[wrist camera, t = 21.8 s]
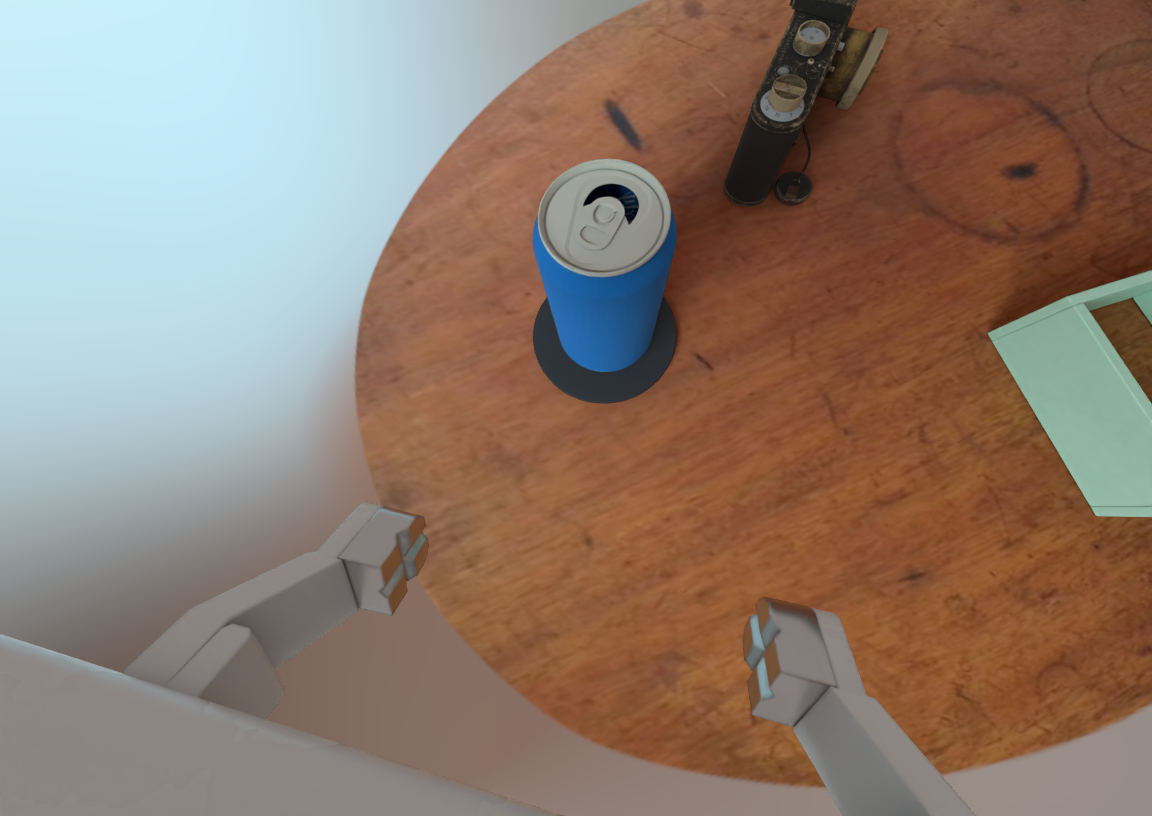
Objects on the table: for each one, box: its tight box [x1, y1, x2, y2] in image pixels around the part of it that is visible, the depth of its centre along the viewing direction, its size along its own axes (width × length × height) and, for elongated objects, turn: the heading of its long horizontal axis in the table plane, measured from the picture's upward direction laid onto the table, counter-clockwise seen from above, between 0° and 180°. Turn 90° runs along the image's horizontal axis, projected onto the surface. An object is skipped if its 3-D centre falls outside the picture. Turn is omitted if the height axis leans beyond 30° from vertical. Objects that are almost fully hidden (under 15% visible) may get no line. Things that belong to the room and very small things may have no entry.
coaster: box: [533, 297, 676, 403], centre depth 29 cm, size 10×10×1 cm
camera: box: [723, 0, 889, 206], centre depth 28 cm, size 16×7×8 cm, turn 155°
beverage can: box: [533, 159, 677, 372], centre depth 23 cm, size 6×6×12 cm
